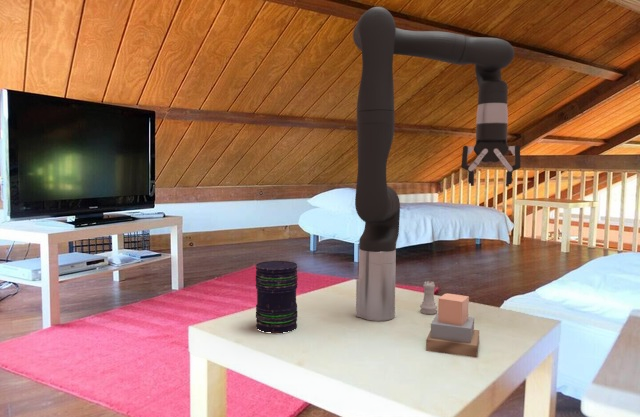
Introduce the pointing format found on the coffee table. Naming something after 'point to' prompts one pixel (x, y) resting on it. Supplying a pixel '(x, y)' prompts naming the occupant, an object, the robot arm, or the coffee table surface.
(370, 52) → the robot arm
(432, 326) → the slate top block
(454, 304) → the terracotta cube
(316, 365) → the coffee table surface
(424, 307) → the rook chess piece
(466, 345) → the walnut base slab
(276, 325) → the storage jar
